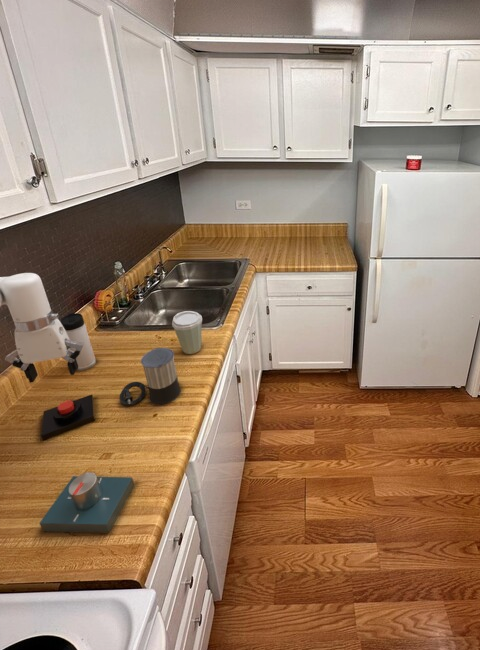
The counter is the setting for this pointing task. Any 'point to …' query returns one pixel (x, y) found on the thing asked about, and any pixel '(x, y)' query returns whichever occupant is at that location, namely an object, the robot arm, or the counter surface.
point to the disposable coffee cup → (188, 330)
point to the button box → (68, 418)
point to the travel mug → (79, 339)
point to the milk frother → (156, 379)
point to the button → (66, 407)
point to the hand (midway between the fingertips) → (54, 375)
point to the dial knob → (85, 491)
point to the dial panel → (94, 518)
